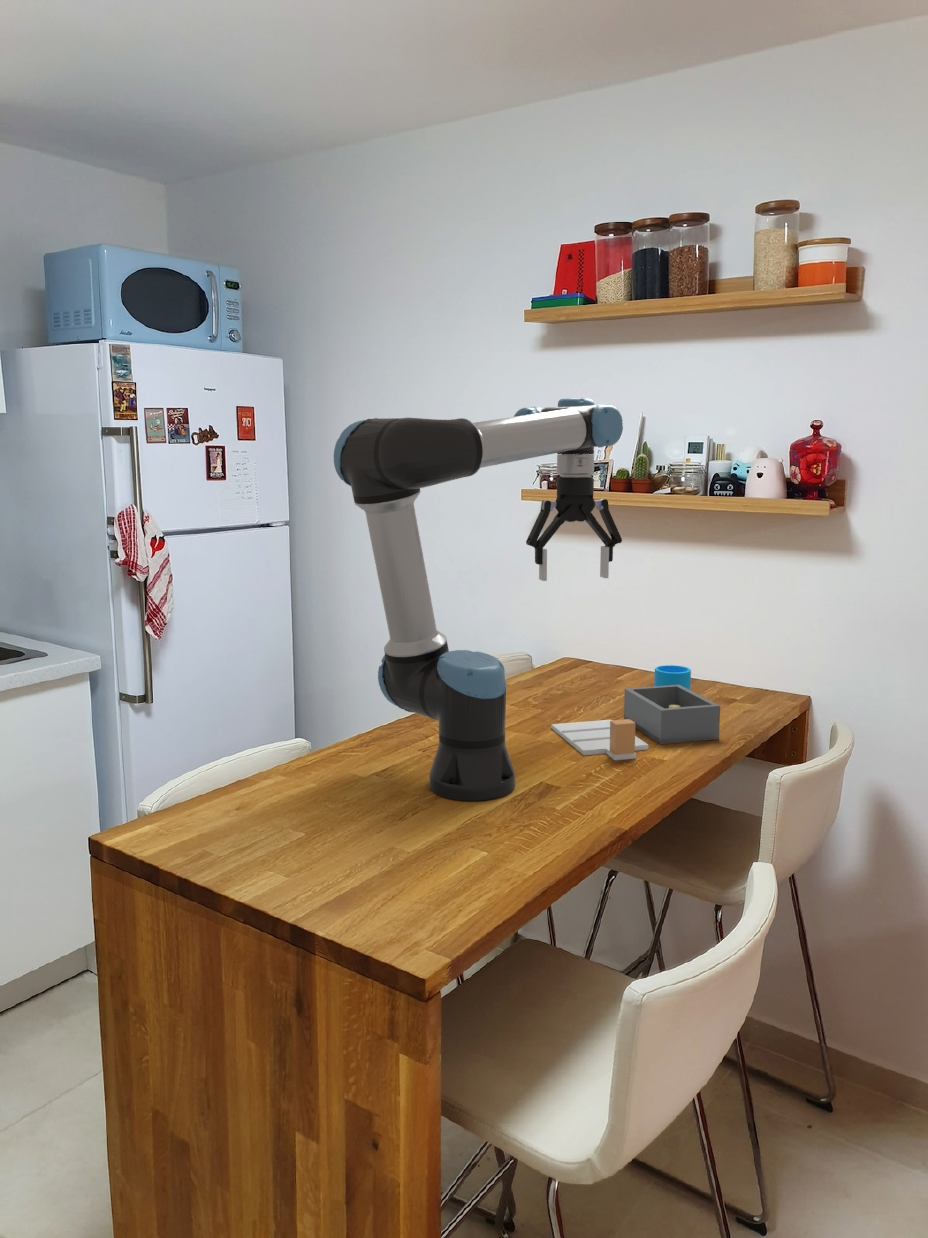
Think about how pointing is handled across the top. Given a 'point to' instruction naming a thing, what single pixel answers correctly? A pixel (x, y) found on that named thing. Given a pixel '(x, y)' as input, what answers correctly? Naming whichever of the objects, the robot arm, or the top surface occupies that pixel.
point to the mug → (672, 676)
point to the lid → (602, 737)
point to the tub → (672, 714)
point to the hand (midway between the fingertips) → (573, 578)
